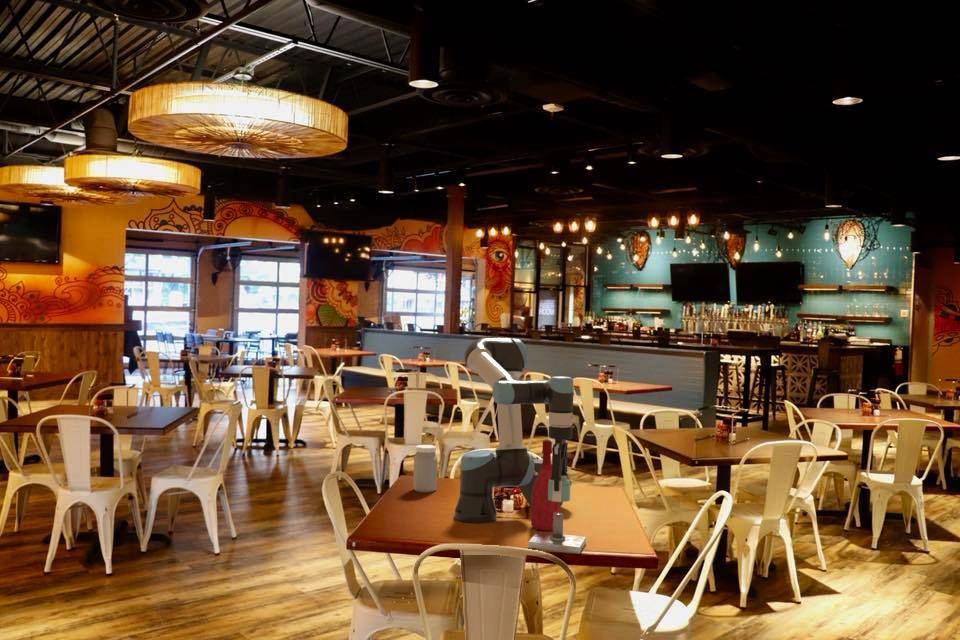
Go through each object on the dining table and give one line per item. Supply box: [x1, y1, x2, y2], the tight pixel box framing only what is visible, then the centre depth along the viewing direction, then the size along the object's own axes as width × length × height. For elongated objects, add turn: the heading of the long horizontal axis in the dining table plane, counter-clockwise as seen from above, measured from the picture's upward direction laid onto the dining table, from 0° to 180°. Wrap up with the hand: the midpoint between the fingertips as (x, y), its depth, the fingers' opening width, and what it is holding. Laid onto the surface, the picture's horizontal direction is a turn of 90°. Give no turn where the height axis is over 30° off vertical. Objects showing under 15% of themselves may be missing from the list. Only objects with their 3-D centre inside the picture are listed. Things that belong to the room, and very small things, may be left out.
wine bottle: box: [530, 439, 561, 532], centre depth 269 cm, size 10×10×30 cm
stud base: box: [528, 512, 587, 554], centre depth 249 cm, size 16×12×10 cm
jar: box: [412, 444, 438, 493], centre depth 322 cm, size 10×10×18 cm
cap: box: [548, 479, 571, 503], centre depth 248 cm, size 7×7×6 cm
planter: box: [517, 458, 573, 508], centre depth 298 cm, size 17×8×21 cm
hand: (559, 498), depth 248 cm, fingers closed on cap, 7 cm apart
